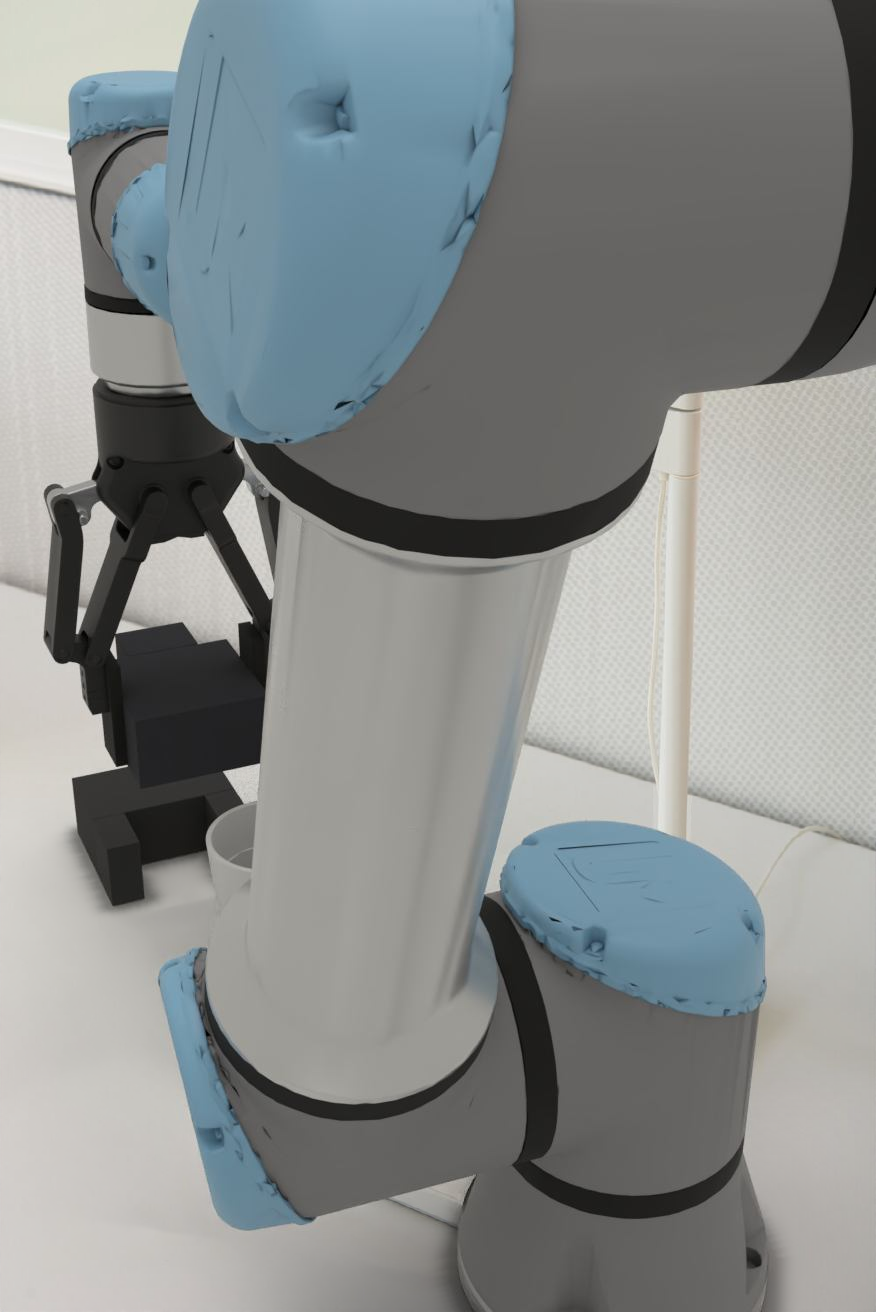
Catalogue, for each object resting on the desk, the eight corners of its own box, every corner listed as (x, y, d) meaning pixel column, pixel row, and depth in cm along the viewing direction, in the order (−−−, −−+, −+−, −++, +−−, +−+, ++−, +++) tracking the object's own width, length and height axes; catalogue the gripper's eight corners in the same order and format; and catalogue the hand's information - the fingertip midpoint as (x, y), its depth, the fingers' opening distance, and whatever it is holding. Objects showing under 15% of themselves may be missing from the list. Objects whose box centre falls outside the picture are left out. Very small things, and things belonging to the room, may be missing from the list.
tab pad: (271, 761, 97) (269, 694, 95) (140, 789, 94) (134, 721, 92) (213, 678, 106) (210, 616, 104) (91, 701, 103) (85, 638, 101)
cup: (329, 1051, 95) (324, 880, 90) (199, 1033, 96) (186, 863, 91) (362, 969, 102) (359, 806, 97) (240, 953, 103) (230, 791, 98)
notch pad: (255, 872, 112) (252, 816, 110) (112, 906, 108) (106, 849, 106) (212, 802, 120) (208, 749, 118) (77, 832, 116) (71, 777, 114)
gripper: (317, 337, 95) (326, 681, 105) (-47, 378, 87) (1, 746, 97) (366, 372, 89) (370, 734, 99) (-21, 420, 81) (27, 808, 91)
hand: (187, 740), depth 98 cm, fingers closed on tab pad, 8 cm apart
